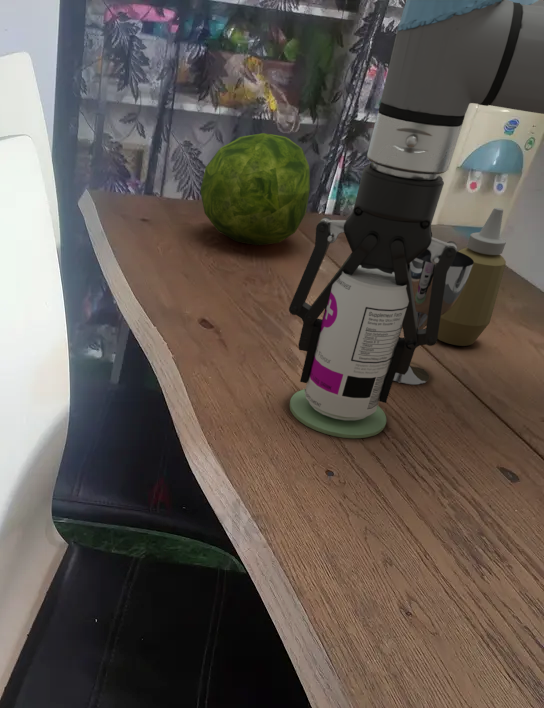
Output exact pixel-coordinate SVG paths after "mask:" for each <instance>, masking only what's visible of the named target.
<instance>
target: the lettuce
mask: <svg viewBox="0 0 544 708" xmlns="http://www.w3.org/2000/svg"><path fill="white" fill-rule="evenodd" d="M214 154H215V155H213V157H212V158H211V159H210V161H209V162H208V163H207V164H206V166H205V169H204V173H203V176H202V181H201V185H200V191H199V192H200V197H201V201H202V206H203V211H204V214H205V216H206V218H208V220H209V221H210V223H211V224H212V225H213V226H214V228H215V229H216V231H217V232H219V233H220V234H223V235H224V236H225V237H228V238H229V239H230V240H233V241H235V242H236V243H242V244H247V245H254V246H266V245H272V244H279V243H281V242H282V241H285V240H286V239H287V238H289V237H291V236H293V235H294V234H295V233H296V232H297V230H298V228H300V227H299V226H300V224H301V223H302V221H303V219H304V217H305V216H306V214H307V210H308V209H307V208H308V205H309V204H308V203H309V197H310V191H311V181H310V180H311V178H310V177H311V176H310V175H311V174H310V172H311V171H310V165H309V162H308V160H307V157H306V153H305V152H304V148H302V147H301V146H300V145H298V144H297V143H295V142H294V141H293V140H291V139H290V138H288V137H287V136H284V135H278V134H271V133H265V132H262V133H257V134H250V135H244V136H239V137H237V138H236V139H234V140H232V141H230V142H228V143H227V144H225V145H224V146H221V147H220V148H219V149H218V150H217V151H216V153H214Z"/></svg>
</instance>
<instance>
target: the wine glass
mask: <svg viewBox="0 0 544 708" xmlns="http://www.w3.org/2000/svg"><path fill="white" fill-rule="evenodd" d="M458 251H459V250H457V253H456V256H455V258H454V260H453V262H452V264H451V266H450V268H449V270H448V272H447V275H446V282H445V289H444V296H443V303H442V310H441V315H443V314H445V313H446V312H447V311H448V310H450V309H451V308H452V306H453V305H454V304H455V303H456V301H457V299H458V298H459V296H460V295H461V293H462V291H463V289H464V287H465V285H466V283H467V280H468V278H469V275H470V272H471V270H472V267H473V263H474V261H473V260H472V259H471V258H470V257H469V256H467V255H465V254H463V253H461V252H458ZM430 258H431V252H430V251H429V250H428V249H426V250H425V251H424V252H423V253H421V254H420V255H419V256H418V257H417V258H415V259H414V260H413V261H412V262H410V267H411V279H412V286H413V294H414V301H415V309H416V316H417V324H418V330H420V329H425V328H426V327H427V319H428V312H429V304H430V297H431V289H432V282H433V275H434V269H435V265H434V264H432V263H431V260H430ZM429 380H430V374H429V373H428V371H426V369H424V368H423V367H421V366H419V365H417V364H415V363H412V362H411V363H410V366H409V369H408V371H407V372H406V374H405V375H404V374H399V373H395V376H394V380H393V382H395V383H399V384H404V385H421V384H422V385H423V384H425V383H428V381H429Z"/></svg>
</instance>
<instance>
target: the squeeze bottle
mask: <svg viewBox="0 0 544 708" xmlns="http://www.w3.org/2000/svg"><path fill="white" fill-rule="evenodd" d="M503 215H504V209H503V208H500V207H493V210H492V211H491V213H490V214H489V216H488V218H487V220H486V221H485V223H484V224H483V226H482V228H481V229H480V231H479V232H472V233H470V236H469V238H468V241H467V243H466V247H463V248H462V249H460V250H457V251H458V252H461V253H463V254H465V255H467V256H469V257H470V258H471V259H472V260H473V261H474V263H473V267H472V270H471V272H470V275H469V278H468V280H467V283H466V285H465V287H464V289H463V291H462V293H461V295H460V296H459V298H458V299H457V301H456V303H455V304H454V305H453V306H452V308H451V309H450V310H448V311H447V312H446V313H445V314H443V315H441V317H440V324H439V331H438V338H437V340H438V341H441V342H443V343H446V344H449V345H453V346H459V347H460V346H461V347H465V346H466V347H467V346H471V345H473V344H474V343H475V342H476V341H477V339H479V337H480V336H481V334H482V333H483V332H484V331H485V329H486V328H487V327H488V326H489V324H490V323H491V320H492V316H493V312H494V309H495V305H496V301H497V297H498V294H499V290H500V287H501V283H502V279H503V275H504V272H505V269H506V265H507V261H506V259H505V257H504V256H503V255H501V254H503V252H504V250H505V247H506V244H507V240H506V239H505V238H503V237H501V235H500V234H501V228H502V222H503Z"/></svg>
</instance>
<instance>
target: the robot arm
mask: <svg viewBox="0 0 544 708" xmlns="http://www.w3.org/2000/svg"><path fill="white" fill-rule="evenodd" d="M396 30H397V31H396V34H395V39H394V43H393V48H392V51H391V56H390V60H389V64H388V69H387V73H386V77H385V81H384V85H383V91H382V94H381V99H380V103H379V105H378V106H379V107H378V110H377V113H376V117H375V120H374V125H373V130H372V133H371V137H370V142H369V145H368V149H367V154H366V157H367V158H368V160H369V161H370V163H369V164H367V165H366V166H365V167H364V168H363V169H362V174H361V177H360V182H359V185H358V189H357V194H356V198H355V201H354V206H353V209H352V212H351V214H350V215H349V216H348V217H347V218H346V219H332V218H331V217H329V216H323V217H322V218H321V219H320V220H319V222H318V223H317V225H316V227H315V239H314V240H315V242H314V247H313V250H312V252H311V254H310V257H309V259H308V261H307V264H306V266H305V269H304V271H303V274H302V276H301V278H300V280H299V283H298V285H297V288H296V291H295V293H294V294H293V297H292V299H291V303H290V304H289V307H288V312H289V314H291V315H292V316H297V317H298V318H300V319H301V320H302V328H301V331H300V336H299V341H298V350H299V351H303V352H306V354H305V359H304V364H303V368H302V371H301V376H300V379H299V382H300V383H303V384H307V381H308V377H309V373H310V369H311V365H312V361H313V357H314V353H315V349H316V345H317V341H318V337H319V333H320V328H321V323H322V319H323V318H319V317H320V316H321V314H322V313H324V311H325V308H326V307H327V305H328V301H329V297H330V293H331V289H332V285H333V284H334V282H335V281H336V280H337V279H338V278H339V277H340V276H341V275H342V271H343V272H344V273H345V274H348V275H352V274H353V273H354V272H355V270H356V269H357V268H358V267H359V265H361V268H366V269H379V270H381V271H383V272H385V273H390V274H392V272H394V274H395V281H396V285H400V286H404V285H407V286H406V291H407V295H408V299H409V303H408V306H407V309H406V312H405V315H404V319H403V322H402V325H403V327H402V331H403V337H401V336H399V339H398V342H397V345H396V348H395V352H394V355H393V358H392V361H391V364H390V368H389V371H388V374H387V377H386V380H385V383H384V387H383V390H382V393H381V396H380V400H379V403H383V404H386V403H387V401H388V398H389V395H390V392H391V389H392V386H393V382H394V381H393V380H394V376H395V373H399V374H404V375H405V374H406V372H407V371H408V369H409V366H410V363H412V359H413V356H414V354H415V351H416V349H417V348H418V347H421V346H425V345H426V346H429V347H433V346H435V345H436V344H437V342H438V339H437V338H438V331H439V324H440V317H441V310H442V303H443V296H444V289H445V282H446V275H447V272H448V270H449V268H450V266H451V264H452V262H453V260H454V258H455V256H456V253H457V251H458V244H457V243H456V242H455V241H453V240H450V241H447V242H446V241H443V240H441V239H438V238H436V237H433V232H432V224H433V220H434V216H435V215H436V210H437V208H438V204H439V201H440V197H441V194H442V191H443V188H444V185H445V183H444V180H443V177H442V176H441V175H442V174H444V173H446V172H447V171H448V170H449V168H450V165H451V163H452V159H453V156H454V153H455V150H456V147H457V143H458V141H459V137H460V134H461V130H462V127H463V125H464V124H463V123H464V121H465V117H466V113H467V110H468V108H469V106H470V104H475V105H479V106H485V107H488V106H491V107H498V108H503V109H510V110H514V111H520V112H521V111H522V112H528V113H534V114H541V115H544V0H536V1H535V2H533V3H528V4H522V3H520V2H516V1H515V2H514V1H512V0H405V3H404V6H403V10H402V14H401V18H400V21H399V23H398V25H397V29H396ZM343 233H344V236H345V238H346V240H347V243H348V245H349V248H350V251H351V252H350V255H348V257H347V258H346V260H345V261H344V262H343V264H342V265H341V267H340V268H338V270H337V272H336V273H335V274H334V275H333V276H332V278H331V279H330V281H329V282H328V283H327V285H326V286H324V288H323V290H322V291H321V292H320V294H319V295H318V296H317V298H316V299H315V300H314V301H313V302H312V304H311V305H310V304H309V303H308V302H306V301H307V299H308V296H309V294H310V293H311V289H312V287H313V284H314V282H315V280H316V279H317V276H318V273H319V270H320V269H321V266H322V264H323V261H324V259H325V257H326V254H327V252H328V249H329V247H330V244H334V243H335V242H336V241H337V240H338V237H339V235H340V234H343ZM426 249H428V250H429V251H430V252H431V258H430V260H431V263H432V264H434V265H435V269H434V275H433V282H432V289H431V297H430V304H429V312H428V319H427V325H426V326H425V328H423V329H420V330H418V324H417V316H416V309H415V301H414V294H413V286H412V279H411V267H410V262H412V261H413V260H414V259H415V258H417V257H418V256H419V255H420V254H421V253H423V252H424V251H425V250H426Z"/></svg>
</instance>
